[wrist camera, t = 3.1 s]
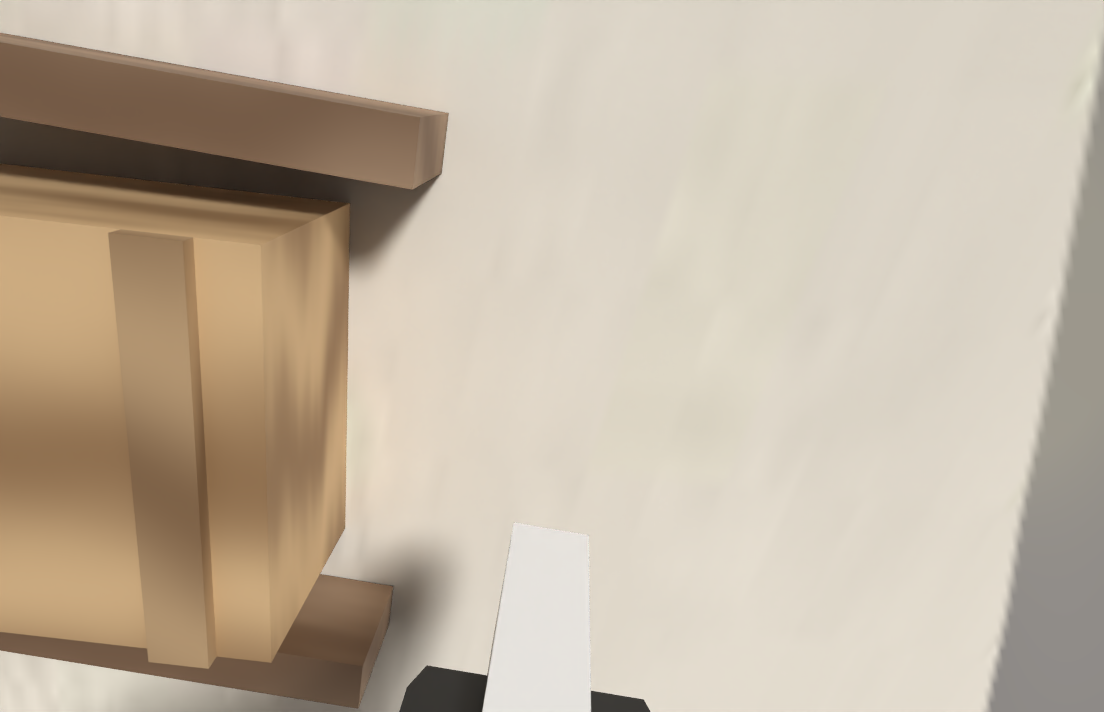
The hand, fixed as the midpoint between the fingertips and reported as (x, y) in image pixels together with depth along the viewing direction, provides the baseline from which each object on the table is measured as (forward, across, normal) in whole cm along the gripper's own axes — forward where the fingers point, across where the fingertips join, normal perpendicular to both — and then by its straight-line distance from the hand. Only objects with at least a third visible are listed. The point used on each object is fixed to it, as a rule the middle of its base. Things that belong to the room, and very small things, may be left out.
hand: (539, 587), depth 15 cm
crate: (+7, -11, 0) cm, 13 cm away
